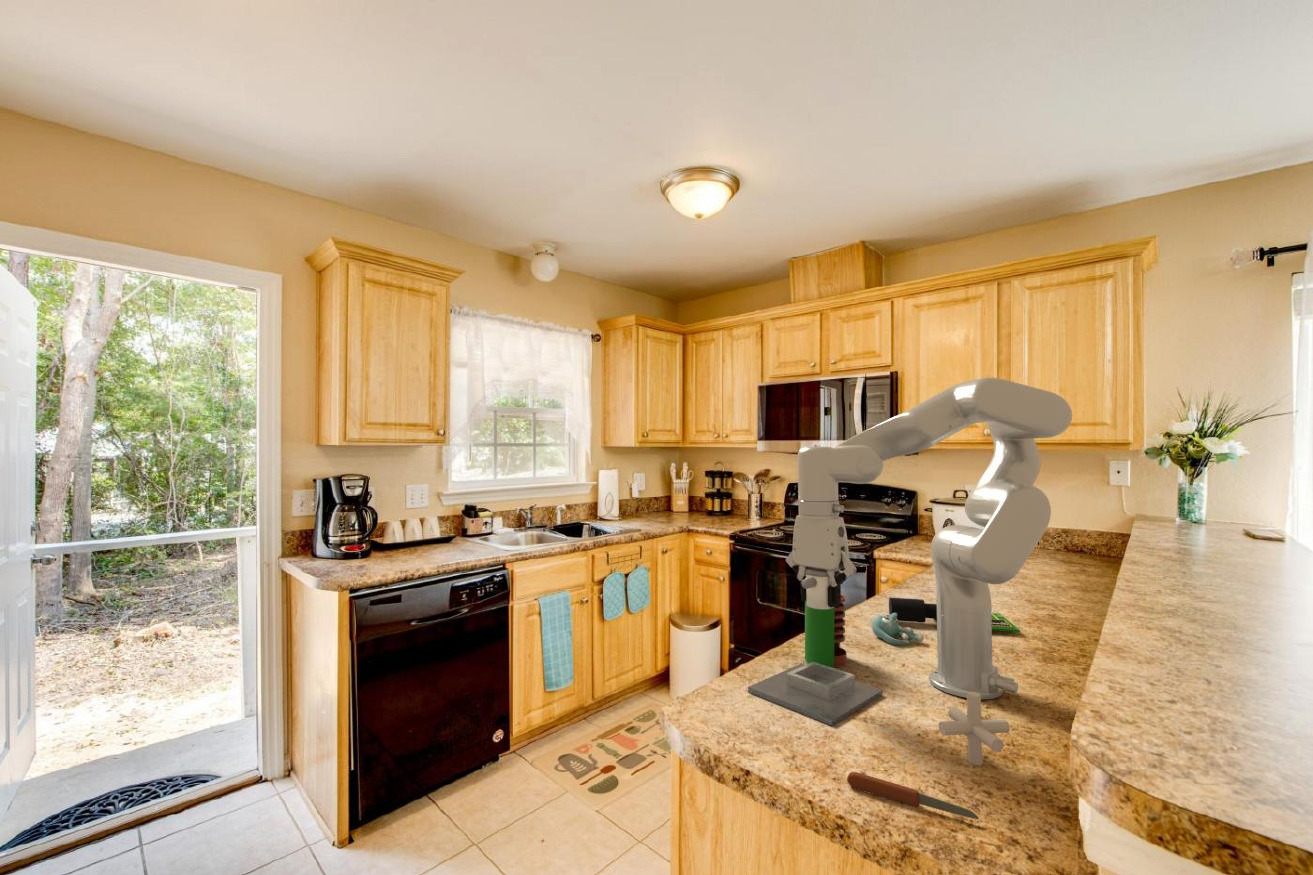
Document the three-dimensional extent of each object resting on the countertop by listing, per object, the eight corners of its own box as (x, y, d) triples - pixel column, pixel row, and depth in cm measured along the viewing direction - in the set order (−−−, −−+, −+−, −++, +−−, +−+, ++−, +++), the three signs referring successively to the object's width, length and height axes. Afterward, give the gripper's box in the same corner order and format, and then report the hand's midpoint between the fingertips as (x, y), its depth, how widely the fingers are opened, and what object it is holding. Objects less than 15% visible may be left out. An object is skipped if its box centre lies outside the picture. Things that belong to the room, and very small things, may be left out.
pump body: (840, 605, 107) (839, 569, 107) (818, 613, 102) (818, 575, 102) (815, 600, 111) (814, 565, 111) (793, 607, 106) (793, 571, 106)
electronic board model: (999, 595, 154) (1019, 609, 139) (1000, 619, 154) (1019, 636, 139) (884, 588, 162) (892, 601, 147) (885, 611, 162) (892, 627, 147)
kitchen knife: (846, 787, 76) (846, 773, 76) (849, 782, 77) (848, 768, 77) (978, 829, 68) (978, 812, 68) (979, 822, 69) (979, 806, 69)
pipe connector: (923, 745, 87) (922, 681, 87) (983, 743, 88) (982, 679, 88) (964, 783, 77) (963, 710, 77) (1031, 779, 78) (1030, 707, 78)
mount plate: (882, 695, 105) (882, 678, 105) (832, 726, 93) (832, 706, 93) (801, 668, 118) (801, 653, 119) (748, 692, 106) (747, 675, 107)
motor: (849, 670, 117) (848, 576, 118) (806, 667, 119) (805, 574, 120) (843, 653, 127) (842, 566, 128) (803, 651, 129) (802, 565, 130)
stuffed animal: (923, 628, 129) (870, 611, 135) (917, 658, 129) (865, 639, 136) (929, 617, 138) (879, 601, 144) (923, 645, 138) (874, 627, 145)
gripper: (869, 511, 104) (871, 608, 104) (792, 505, 117) (793, 592, 116) (849, 514, 99) (851, 616, 99) (770, 508, 112) (772, 598, 111)
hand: (820, 602), depth 107 cm, fingers closed on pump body, 5 cm apart
